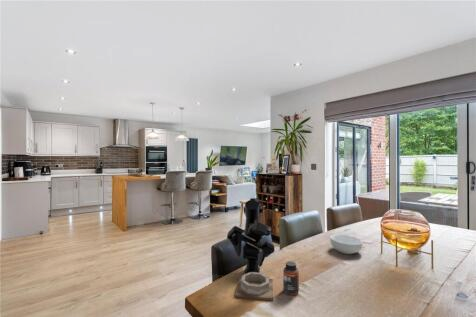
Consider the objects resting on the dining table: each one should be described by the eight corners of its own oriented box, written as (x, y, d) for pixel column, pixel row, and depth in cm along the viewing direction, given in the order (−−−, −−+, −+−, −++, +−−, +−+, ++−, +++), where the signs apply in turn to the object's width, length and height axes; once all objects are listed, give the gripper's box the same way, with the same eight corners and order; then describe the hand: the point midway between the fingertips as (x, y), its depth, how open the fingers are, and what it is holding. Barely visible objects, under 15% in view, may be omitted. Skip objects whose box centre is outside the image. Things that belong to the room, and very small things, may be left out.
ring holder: (239, 278, 103) (239, 269, 103) (272, 281, 101) (272, 271, 101) (235, 297, 89) (235, 286, 89) (273, 300, 88) (273, 290, 88)
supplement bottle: (296, 287, 97) (296, 259, 97) (300, 296, 91) (301, 266, 91) (281, 287, 96) (282, 259, 96) (285, 296, 91) (285, 266, 90)
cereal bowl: (368, 258, 127) (368, 244, 127) (336, 257, 128) (337, 244, 128) (353, 246, 144) (353, 234, 144) (325, 245, 145) (326, 233, 144)
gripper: (243, 205, 93) (239, 238, 80) (282, 226, 97) (284, 261, 84) (229, 221, 98) (223, 254, 85) (266, 240, 102) (266, 275, 89)
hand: (249, 261), depth 86 cm, fingers open, 9 cm apart
